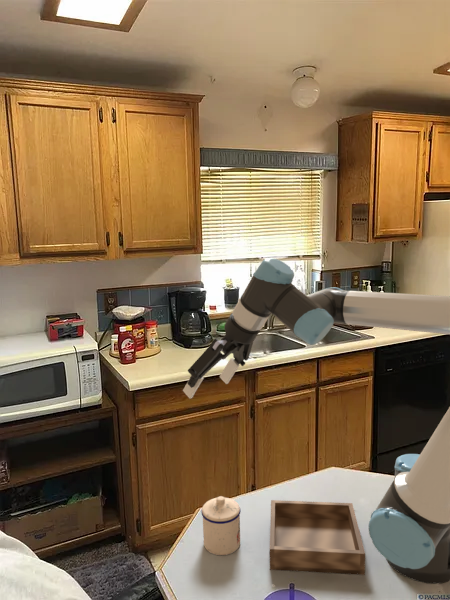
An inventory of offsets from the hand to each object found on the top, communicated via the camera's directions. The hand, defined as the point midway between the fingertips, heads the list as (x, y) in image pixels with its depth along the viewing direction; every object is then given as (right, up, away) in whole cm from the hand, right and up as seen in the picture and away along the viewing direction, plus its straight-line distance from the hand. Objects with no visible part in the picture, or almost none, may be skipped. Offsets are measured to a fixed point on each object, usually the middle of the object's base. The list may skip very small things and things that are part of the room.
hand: (206, 387), depth 114 cm
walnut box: (+25, -36, -5) cm, 44 cm away
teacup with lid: (+3, -36, -2) cm, 36 cm away
